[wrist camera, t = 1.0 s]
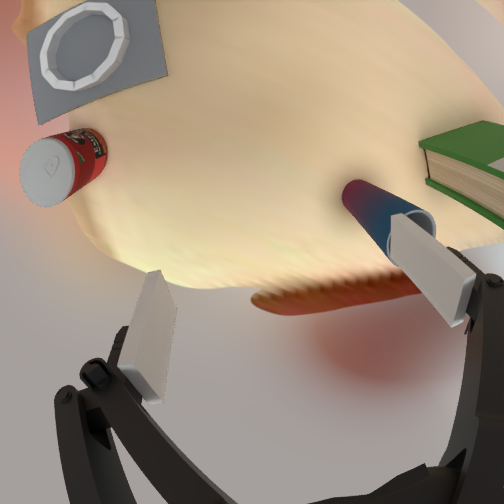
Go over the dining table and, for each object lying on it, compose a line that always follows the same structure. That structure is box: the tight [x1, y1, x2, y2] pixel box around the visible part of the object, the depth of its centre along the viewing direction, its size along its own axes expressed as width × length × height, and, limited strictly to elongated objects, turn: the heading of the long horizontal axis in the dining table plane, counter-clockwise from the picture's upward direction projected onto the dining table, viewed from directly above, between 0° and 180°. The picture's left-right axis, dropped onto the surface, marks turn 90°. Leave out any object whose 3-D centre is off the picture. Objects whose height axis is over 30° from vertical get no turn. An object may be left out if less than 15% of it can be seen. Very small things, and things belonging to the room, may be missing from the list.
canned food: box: [20, 128, 107, 207], centre depth 29 cm, size 8×8×11 cm
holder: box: [27, 0, 168, 125], centre depth 25 cm, size 16×20×4 cm
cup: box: [342, 180, 436, 267], centre depth 34 cm, size 7×7×15 cm
